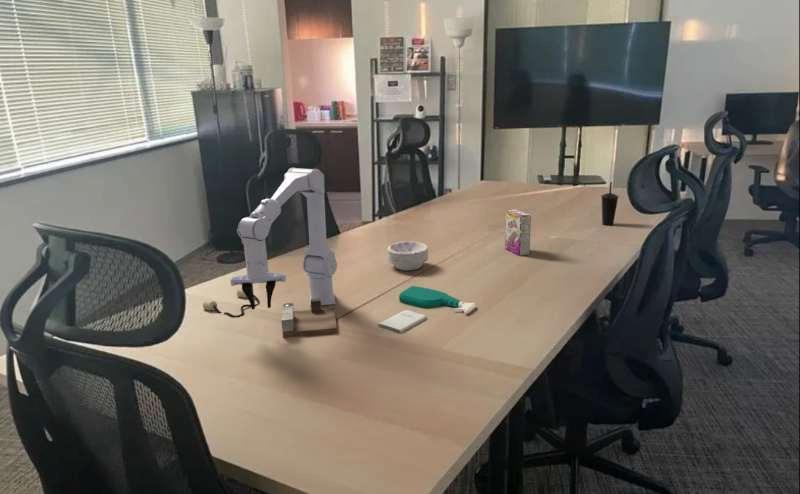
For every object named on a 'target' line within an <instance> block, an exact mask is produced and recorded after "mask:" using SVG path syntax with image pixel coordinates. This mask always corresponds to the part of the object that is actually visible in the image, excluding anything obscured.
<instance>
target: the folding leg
mask: <svg viewBox="0 0 800 494" xmlns="http://www.w3.org/2000/svg"><path fill="white" fill-rule="evenodd" d="M294 306H295V305H294V303H293V302H287V303H283V305H282V311H281V312H282V313H281V329H282V333H283V332H286V331H293V330H294V311H295V308H294Z"/></svg>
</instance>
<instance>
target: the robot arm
mask: <svg viewBox="0 0 800 494" xmlns="http://www.w3.org/2000/svg"><path fill="white" fill-rule="evenodd" d="M296 192H300V193H301V194H302V195H303V196H304V197H306V205H307V207H306V208H307V209H306V210H307V211H306V212H307V225H308V241H309V242H308V243H309V244H308V245H309V246H308V248H306V249H305V250H304V251H303V259H302V269H303V271H304V272H305V273H306V276H307V277H309V278H308V279H309V280H308V281H309V290H310V293H309V306H310V307H311V299H317V298H321V306H329V305H336V299H335V298H336V297H335V292H334V288H333V287H334V286H333V276H334V275H335V273H336V271H337V269H338V268H337V267H338V263H337V259H336V256H335V254H336V253H335V251H334V250H333V249H332V248H330V246H328V245H327V227H326V225H327V224H326V206H325V202H326V201H325V193H326V191H325V175H324V173H323V172H322V171H321V170H320V169H318V168H297V167H290V168H289V169H288V170H287V172H286V173H284V177H283V181H282V182H281V184H280V186H278V188H277V190H276V191H275V192H274V193H273V195H272V196H271V197H270V198H265V199H262V200H261V201H260V204H259V205H258V206H257V207H256V208H255V209H254V211H251V213H250V215H249V216H246V217H243V218H242V219H241V220H240V221H239V223H238V225H237V229H236V232H237V235H238V236H239V238H240V239H241V244H242V245H243V250H244V259H245V266H246V274H244V275H239V276H238V275H237V276H231V278H230V287H235V286H236V285H237V286H239V285H240V286H241V288H242V290H243V292H244V293H245V295H246V296H247V298H246V299H247V300H248V302H249V305H251V310H255V309H256V306H255V304H256V301H255V300H256V299H255V298H254V295H255V294H254V284H265V283H266V284H265V289H266V291H265V292H266V298H267V308H268V309H270V308H271V307H272V303H271V302H272V297H273V293H274V290H275V287H276V282H277V283H278V282H281V283H285V282H287V281H286V280H287V278H286V277H287V276H286V273H285V272H280V273H279V272H269V265H268V253H267V244H266V238H267V237H268V236H269V233H270V229H271V226H272V224H273V222H274V221H276V219H277V218H278V216H279V215H280V214H281V213H282V208H281V207H282V206H283V205H284V204H285V203H286V202H287V201H288V200H290V198H291V197H292V196H293V195H294V194H295V193H296Z"/></svg>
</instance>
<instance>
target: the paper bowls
mask: <svg viewBox="0 0 800 494" xmlns="http://www.w3.org/2000/svg"><path fill="white" fill-rule="evenodd" d="M428 260H429V247H428V245H427V244H425V243H422V242H418V241H417V242H416V241H400V242H396V243H392V244H390V245H389V246H388V247H387V261H388V262H389V263H390V264H392V265H393V266H394V268H396V269H397V270H400V271H414V270H418V269H420V268H421V267H423V264H424V263H426V262H427V261H428Z"/></svg>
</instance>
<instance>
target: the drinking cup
mask: <svg viewBox="0 0 800 494" xmlns="http://www.w3.org/2000/svg"><path fill="white" fill-rule="evenodd" d="M612 186H613V185H612V181H610V182H609V192H608V193H603V194H601V196H600V198H601V220H602V221H601V222H602V223H601V224H602V225H603V226H605V227H606V226H614V221H615V217H616V210H617V205H618V201H619V195H617V194H615V193H612Z"/></svg>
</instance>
